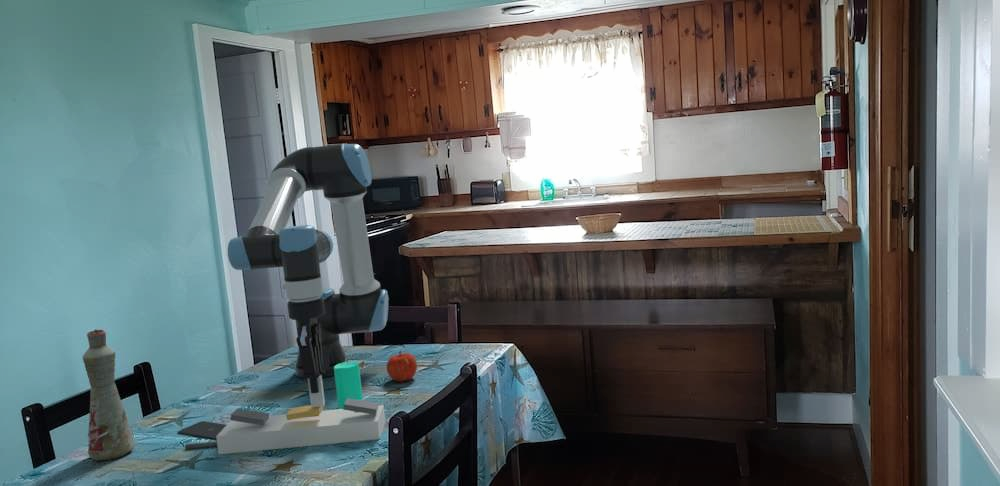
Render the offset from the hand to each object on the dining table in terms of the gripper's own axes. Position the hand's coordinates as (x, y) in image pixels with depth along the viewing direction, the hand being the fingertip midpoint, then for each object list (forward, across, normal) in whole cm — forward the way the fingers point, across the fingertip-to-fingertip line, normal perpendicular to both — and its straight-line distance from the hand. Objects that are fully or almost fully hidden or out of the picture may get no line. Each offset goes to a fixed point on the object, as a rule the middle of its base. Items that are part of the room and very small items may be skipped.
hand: (318, 405), depth 154 cm
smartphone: (+8, -11, -28) cm, 31 cm away
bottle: (+7, -2, -46) cm, 47 cm away
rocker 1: (+2, 0, -15) cm, 15 cm away
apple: (+7, -37, +14) cm, 40 cm away
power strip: (+7, -1, -8) cm, 11 cm away
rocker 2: (+2, 0, -3) cm, 3 cm away
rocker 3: (+2, 0, +9) cm, 9 cm away
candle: (+7, -19, +3) cm, 21 cm away
